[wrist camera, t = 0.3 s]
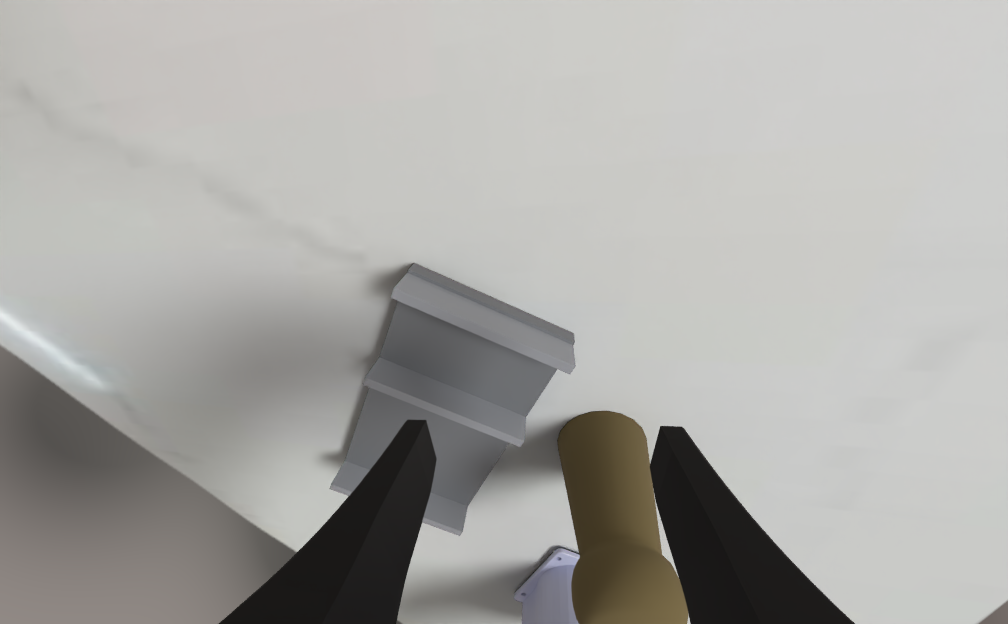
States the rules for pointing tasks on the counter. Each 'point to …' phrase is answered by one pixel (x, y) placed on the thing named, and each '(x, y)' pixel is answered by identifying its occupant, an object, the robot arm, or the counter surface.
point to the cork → (616, 525)
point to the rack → (454, 386)
